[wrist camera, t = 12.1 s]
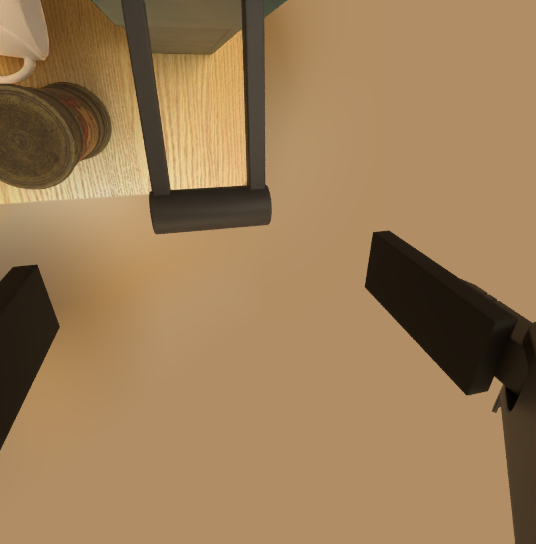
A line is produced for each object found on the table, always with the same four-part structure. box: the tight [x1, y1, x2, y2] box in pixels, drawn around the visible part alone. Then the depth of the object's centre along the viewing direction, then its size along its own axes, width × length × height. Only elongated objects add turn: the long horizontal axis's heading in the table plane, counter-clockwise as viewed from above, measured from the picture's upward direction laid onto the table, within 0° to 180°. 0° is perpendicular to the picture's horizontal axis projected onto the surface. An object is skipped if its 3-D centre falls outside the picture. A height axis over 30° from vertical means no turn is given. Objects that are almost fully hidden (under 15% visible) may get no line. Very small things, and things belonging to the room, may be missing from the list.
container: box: [0, 82, 111, 189], centre depth 36 cm, size 9×9×18 cm
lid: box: [91, 0, 287, 234], centre depth 17 cm, size 14×8×10 cm
